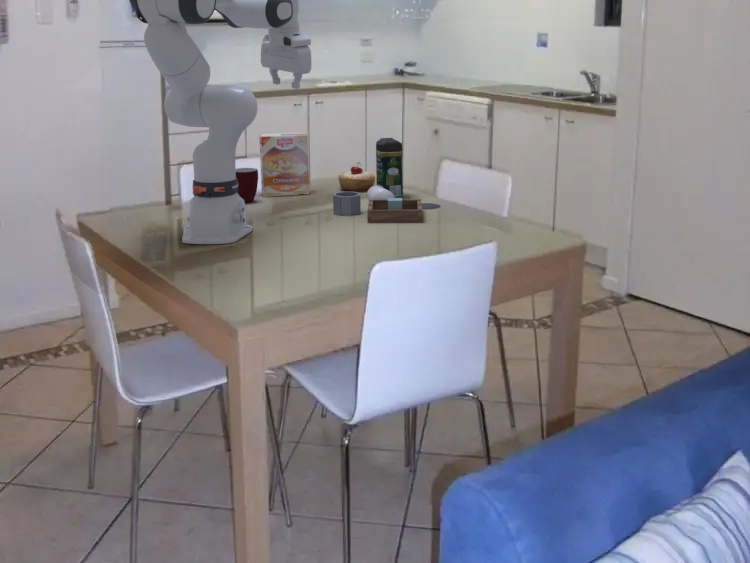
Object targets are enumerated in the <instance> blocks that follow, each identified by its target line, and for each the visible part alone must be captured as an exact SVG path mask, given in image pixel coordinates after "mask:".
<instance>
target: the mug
mask: <svg viewBox="0 0 750 563" xmlns="http://www.w3.org/2000/svg"><path fill="white" fill-rule="evenodd" d="M235 169H236V178H237V179H238V192H237V193H238V194H239V196H240V197H241V198H242V199H243V200H244V202H245V204H249V203H252V202H254V200H255V198H256V195H257V191H258V184H259V183H258V182H259V171H258V170H259V169H258V168H255V167H240V168H239V167H238V168H235Z"/></svg>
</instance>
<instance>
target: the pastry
mask: <svg viewBox="0 0 750 563" xmlns="http://www.w3.org/2000/svg"><path fill="white" fill-rule="evenodd" d="M356 164H357V165H356V166H351V168H350V170H349V171H346V172H345V171H344V172H340V173H339V175H338V183H339V185H340V188H341V189H342V190H345V191H348V190H349V191H348V192H366V191H367V192H368V190H369V189H370V188H371V187H372V186H375V181H376V176H375V175H374V174H373V173H371V172H369V171H363V169H362V164H361V162H359V161H358V162H357V163H356ZM359 165H360V166H361V167H359Z"/></svg>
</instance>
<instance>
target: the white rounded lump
mask: <svg viewBox="0 0 750 563" xmlns="http://www.w3.org/2000/svg"><path fill="white" fill-rule="evenodd" d="M388 198H395V197H394V195H393V193H392V192H390V191H388V190H386V189H384V188H383V187H381V186H378V185H377V184H374V185H373V186H372V187H371V188H370V189H369V190H368V191H367V192H366V199H367V202H369V200H388Z"/></svg>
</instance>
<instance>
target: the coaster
mask: <svg viewBox="0 0 750 563" xmlns="http://www.w3.org/2000/svg"><path fill="white" fill-rule="evenodd" d="M439 208H441V205H440V204H437V203H433V202H432V203H429V202H428V203H427V202H422V211H423V210H436V209H439Z"/></svg>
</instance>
